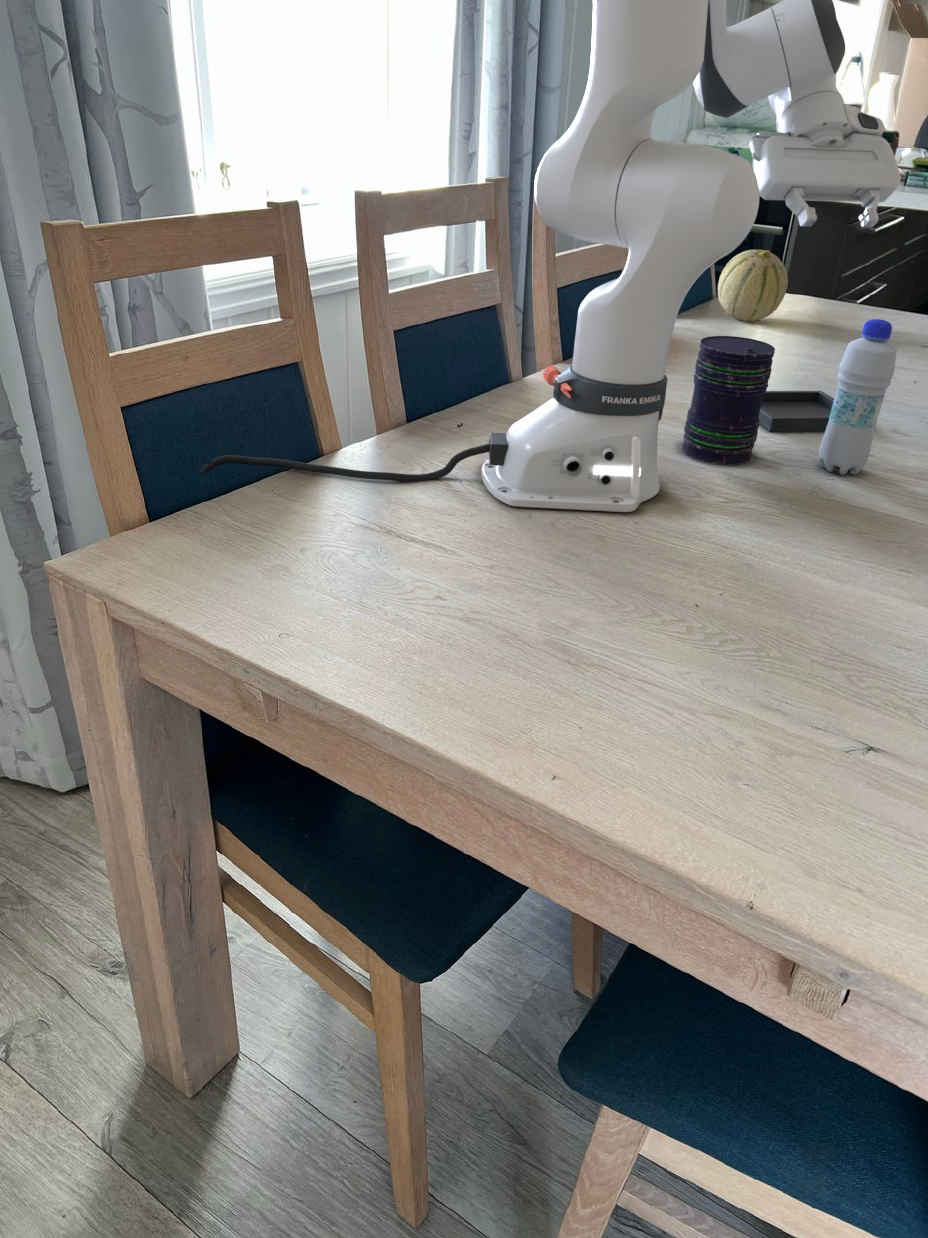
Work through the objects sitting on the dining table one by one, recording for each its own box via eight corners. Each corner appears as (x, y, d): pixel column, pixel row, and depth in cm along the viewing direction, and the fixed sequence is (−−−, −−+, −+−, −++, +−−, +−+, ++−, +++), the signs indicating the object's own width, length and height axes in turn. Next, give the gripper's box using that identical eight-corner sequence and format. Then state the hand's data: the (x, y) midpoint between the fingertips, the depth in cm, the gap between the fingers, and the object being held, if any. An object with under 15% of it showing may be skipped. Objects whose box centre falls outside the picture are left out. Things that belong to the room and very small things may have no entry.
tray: (769, 431, 141) (772, 418, 140) (730, 403, 152) (733, 390, 151) (863, 430, 144) (866, 417, 143) (818, 403, 155) (821, 390, 154)
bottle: (869, 480, 125) (913, 327, 115) (817, 474, 126) (856, 322, 116) (861, 463, 131) (902, 316, 121) (811, 457, 132) (848, 311, 122)
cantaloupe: (738, 309, 217) (751, 240, 209) (792, 323, 207) (809, 251, 200) (697, 316, 209) (710, 244, 201) (753, 330, 199) (768, 255, 192)
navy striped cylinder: (667, 443, 134) (685, 336, 126) (725, 438, 137) (746, 334, 130) (706, 468, 126) (728, 356, 118) (767, 462, 129) (791, 353, 122)
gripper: (759, 113, 121) (784, 206, 118) (893, 120, 127) (920, 209, 124) (735, 149, 127) (758, 238, 124) (863, 153, 133) (889, 239, 129)
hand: (840, 223), depth 124 cm, fingers open, 8 cm apart
